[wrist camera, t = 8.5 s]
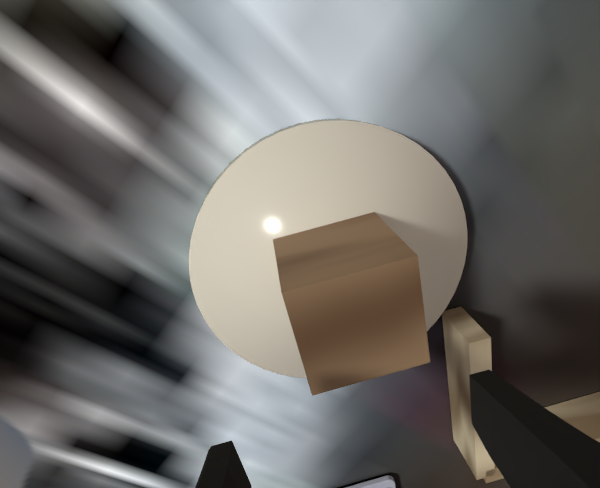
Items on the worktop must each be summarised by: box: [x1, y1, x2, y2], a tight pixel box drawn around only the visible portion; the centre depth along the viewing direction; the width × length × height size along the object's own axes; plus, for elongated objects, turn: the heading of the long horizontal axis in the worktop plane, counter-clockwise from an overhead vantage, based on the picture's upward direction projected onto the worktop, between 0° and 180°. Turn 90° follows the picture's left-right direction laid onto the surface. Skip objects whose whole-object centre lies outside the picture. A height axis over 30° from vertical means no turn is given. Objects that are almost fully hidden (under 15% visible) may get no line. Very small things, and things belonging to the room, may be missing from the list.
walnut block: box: [273, 212, 430, 395], centre depth 17 cm, size 5×5×5 cm
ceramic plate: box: [189, 119, 467, 378], centre depth 19 cm, size 14×14×1 cm
